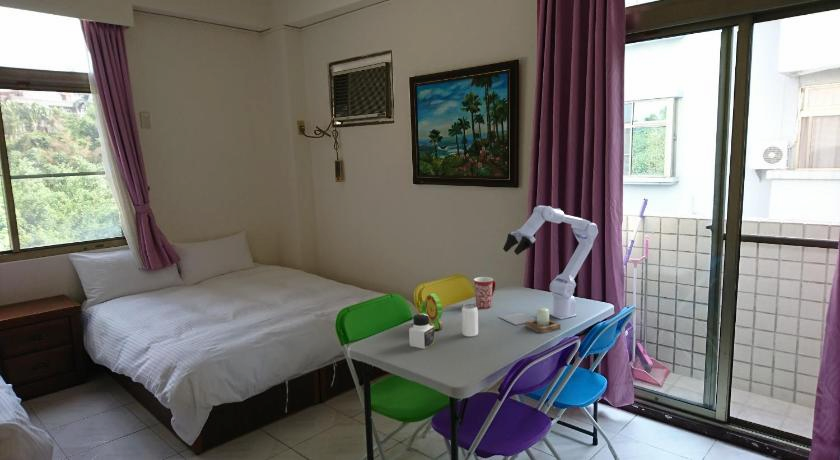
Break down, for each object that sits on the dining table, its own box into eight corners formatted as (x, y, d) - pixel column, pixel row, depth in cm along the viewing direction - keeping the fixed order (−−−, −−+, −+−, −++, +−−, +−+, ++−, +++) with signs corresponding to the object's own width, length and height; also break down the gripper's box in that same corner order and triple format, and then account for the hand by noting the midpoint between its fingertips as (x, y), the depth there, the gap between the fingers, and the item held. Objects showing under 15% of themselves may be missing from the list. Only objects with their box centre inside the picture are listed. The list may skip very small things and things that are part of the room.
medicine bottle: (425, 349, 197) (424, 319, 196) (409, 346, 201) (408, 316, 199) (434, 343, 203) (433, 313, 202) (419, 340, 207) (418, 311, 205)
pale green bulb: (543, 324, 220) (543, 306, 219) (551, 328, 216) (551, 309, 214) (534, 327, 218) (534, 308, 217) (542, 330, 213) (542, 311, 212)
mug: (484, 310, 242) (484, 282, 240) (470, 306, 249) (469, 279, 247) (502, 304, 250) (502, 277, 248) (488, 301, 257) (487, 274, 255)
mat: (521, 313, 236) (521, 312, 236) (538, 320, 226) (538, 319, 226) (499, 317, 231) (499, 316, 231) (515, 325, 220) (515, 324, 220)
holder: (544, 322, 223) (544, 317, 223) (560, 329, 215) (560, 324, 214) (525, 326, 219) (525, 321, 219) (541, 333, 210) (541, 328, 210)
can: (479, 332, 214) (479, 304, 212) (476, 337, 208) (475, 308, 206) (464, 331, 216) (463, 303, 214) (460, 336, 210) (459, 307, 208)
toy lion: (417, 323, 227) (416, 289, 225) (428, 321, 230) (427, 288, 227) (434, 334, 213) (433, 298, 211) (446, 331, 216) (445, 296, 213)
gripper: (514, 219, 222) (494, 242, 219) (536, 223, 209) (515, 247, 206) (523, 230, 225) (503, 253, 222) (545, 235, 212) (524, 259, 209)
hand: (510, 251), depth 214 cm, fingers open, 7 cm apart
